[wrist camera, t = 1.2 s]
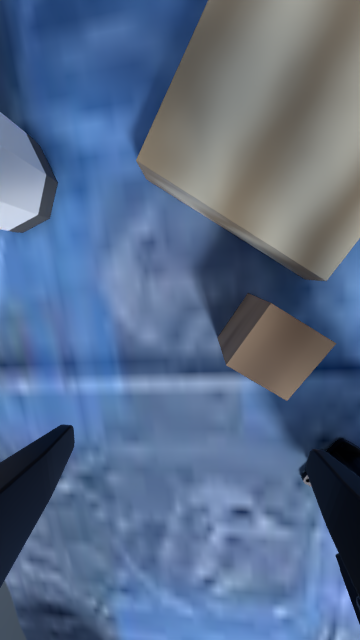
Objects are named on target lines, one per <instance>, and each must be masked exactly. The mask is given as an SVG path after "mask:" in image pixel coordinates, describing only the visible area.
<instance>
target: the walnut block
mask: <svg viewBox="0 0 360 640" xmlns="http://www.w3.org/2000/svg"><path fill="white" fill-rule="evenodd" d="M218 341H219V344H220V347H221V350H222V353H223V356H224V360H225V363H226V365H227V366H229V367H230V368H232V369H234V370H235V371H237V372H239V373H240V374H242V375H244V376H246V377H247V378H249V379H251V380H252V381H254V382H256V383H257V384H259V385H261V386H262V387H264V388H266V389H268V390H269V391H271V392H273V393H274V394H276V395H278V396H279V397H281V398H283V399H284V400H286V401H287V400H288V399H289V398H290V397H291V396H292V394H293V393H294V392H295V391H296V390H297V389H298V388H299V386H300V385H301V384H302V383H303V382H304V381H305V379H306V378H307V377H308V376H309V375H310V374H311V372H312V371H313V370H314V369H315V368H316V367H317V365H318V364H319V363H320V362H321V361H322V360H323V359H324V357H325V356H326V355H327V354H328V353H329V352H330V350H331V349H332V348H333V347H334V346H335V345H336V343H335V342H333V341H332V340H330V339H328V338H327V337H325V336H323V335H322V334H320V333H319V332H317V331H315V330H314V329H312V328H311V327H309V326H307V325H306V324H304V323H302V322H301V321H299V320H298V319H296V318H294V317H293V316H291V315H290V314H288V313H286V312H285V311H283V310H281V309H280V308H278V307H277V306H275V305H273V304H272V303H270V302H267V301H265V300H263V299H260V298H258V297H256V296H253V295H251V294H249V293H248V294H247V295H246V297H245V298H244V300H243V301H242V303H241V304H240V306H239V307H238V308H237V310H236V311H235V313H234V314H233V316H232V317H231V319H230V320H229V322H228V323H227V325H226V326H225V328H224V329H223V330H222V332H221V333H220V335H219V336H218Z"/></svg>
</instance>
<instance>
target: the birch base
mask: <svg viewBox="0 0 360 640" xmlns="http://www.w3.org/2000/svg"><path fill="white" fill-rule="evenodd" d="M136 161H137V163H138V165H139V167H140V168H141V170H142V172H143V174H144V176H145V178H146V179H147V180H148V181H150V182H152V183H153V184H155V185H156V186H158V187H160V188H161V189H163V190H164V191H166V192H167V193H169V194H171V195H172V196H174V197H175V198H177V199H179V200H180V201H182V202H183V203H185V204H186V205H188V206H190V207H191V208H193V209H194V210H196V211H198V212H199V213H201V214H202V215H204V216H205V217H207V218H209V219H210V220H212V221H213V222H215V223H217V224H218V225H220V226H221V227H223V228H224V229H226V230H228V231H229V232H231V233H232V234H234V235H236V236H237V237H239V238H240V239H242V240H243V241H245V242H247V243H248V244H250V245H251V246H253V247H255V248H256V249H258V250H259V251H261V252H262V253H264V254H266V255H267V256H269V257H270V258H272V259H274V260H275V261H277V262H278V263H280V264H281V265H283V266H285V267H286V268H288V269H289V270H291V271H293V272H294V273H296V274H297V275H299V276H300V277H302V278H304V279H305V280H318V281H327V280H328V278H329V277H330V276H331V275H332V273H333V272H334V271H335V269H336V268H337V267H338V266H339V264H340V263H341V262H342V260H343V259H344V258H345V257H346V255H347V254H348V253H349V251H350V250H351V249H352V247H353V246H354V245H355V244H356V242H357V241H358V240H359V238H360V0H208V2H207V4H206V6H205V9H204V11H203V13H202V15H201V18H200V20H199V22H198V24H197V26H196V29H195V31H194V33H193V35H192V38H191V40H190V42H189V44H188V46H187V49H186V51H185V53H184V55H183V57H182V60H181V62H180V64H179V66H178V69H177V71H176V73H175V75H174V77H173V80H172V82H171V84H170V86H169V89H168V91H167V93H166V95H165V97H164V100H163V102H162V104H161V106H160V108H159V111H158V113H157V115H156V117H155V120H154V122H153V124H152V126H151V128H150V131H149V133H148V135H147V137H146V140H145V142H144V144H143V146H142V148H141V151H140V153H139V155H138V157H137V159H136Z"/></svg>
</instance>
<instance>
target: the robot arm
mask: <svg viewBox="0 0 360 640" xmlns="http://www.w3.org/2000/svg"><path fill="white" fill-rule="evenodd" d="M73 448H74V429H73V426H71V425H60V426H58V427H57V428H55V429H53V430H52V431H50V432H49V433H47V434H45V435H44V436H42V437H41V438H39V439H37V440H36V441H34V442H32V443H31V444H29V445H28V446H26V447H24V448H23V449H21V450H20V451H18V452H16V453H15V454H13V455H12V456H10V457H8V458H7V459H5V460H4V461H2V462H0V587H1V586H2V584H3V582H4V580H5V578H6V577H7V575H8V573H9V571H10V569H11V568H12V566H13V564H14V562H15V561H16V559H17V557H18V555H19V553H20V552H21V550H22V548H23V546H24V545H25V543H26V541H27V539H28V537H29V536H30V534H31V532H32V530H33V529H34V527H35V525H36V523H37V521H38V520H39V518H40V516H41V514H42V512H43V511H44V509H45V507H46V505H47V504H48V502H49V500H50V498H51V496H52V494H53V492H54V490H55V488H56V486H57V483H58V481H59V479H60V477H61V475H62V472H63V470H64V468H65V466H66V464H67V461H68V459H69V457H70V455H71V453H72V451H73ZM301 478H302V480H303V482H304V483H305V484H307V485H309V486H310V487H312V489H313V491H314V494H315V497H316V499H317V502H318V505H319V508H320V510H321V513H322V516H323V518H324V521H325V523H326V526H327V528H328V530H329V533H330V535H331V537H332V539H333V541H334V544H335V546H336V548H337V550H338V552H339V553H338V554H336V558H337V561H338V564H339V567H340V571H341V574H342V577H343V579H344V582H345V585H346V588H347V591H348V593H349V596H350V599H351V602H352V604H353V607H354V610H355V613H356V615H357V618H358V621H359V624H360V448H359V447H357V446H356V445H354V444H352V443H351V442H349V441H347V440H345V439H343V438H340V439H338V440H337V441H336V442H335V443H334V444H333V445H332V446H331V447H330V448H329V449H328V450H327V451H324V450H319V449H312V450H311V451H310V454H309V457H308V460H307V464H306V472H305V473H304V474H303V475H302V477H301Z"/></svg>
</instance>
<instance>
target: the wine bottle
mask: <svg viewBox="0 0 360 640" xmlns="http://www.w3.org/2000/svg"><path fill="white" fill-rule="evenodd" d="M57 184H58V183H57V181H56V179H55V176H54V174H53V172H52V170H51V168H50V166H49V164H48V162H47V160H46V158H45V156H44V154H43V151H42V149H41V147H40V146H39V145H38V143H37V142H36V141H35V140H34V139H33V138H31V137H30V136H29V135H28V134H27V133H26V132H24V131H23V130H22V129H21V128H19V127H18V126H17V125H16V124H15V123H13V122H12V121H11V120H10V119H8V118H7V117H6V116H5V115H3V114H2V113H1V112H0V229H2V230H7V231H12V232H20V233H23V232H25V231H27V230H29V229H31V228H33V227H35V226H36V225H38V224H40V223H42V222H44V221H46V220H48V219H50V215H51V211H52V206H53V202H54V197H55V193H56V188H57Z"/></svg>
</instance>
